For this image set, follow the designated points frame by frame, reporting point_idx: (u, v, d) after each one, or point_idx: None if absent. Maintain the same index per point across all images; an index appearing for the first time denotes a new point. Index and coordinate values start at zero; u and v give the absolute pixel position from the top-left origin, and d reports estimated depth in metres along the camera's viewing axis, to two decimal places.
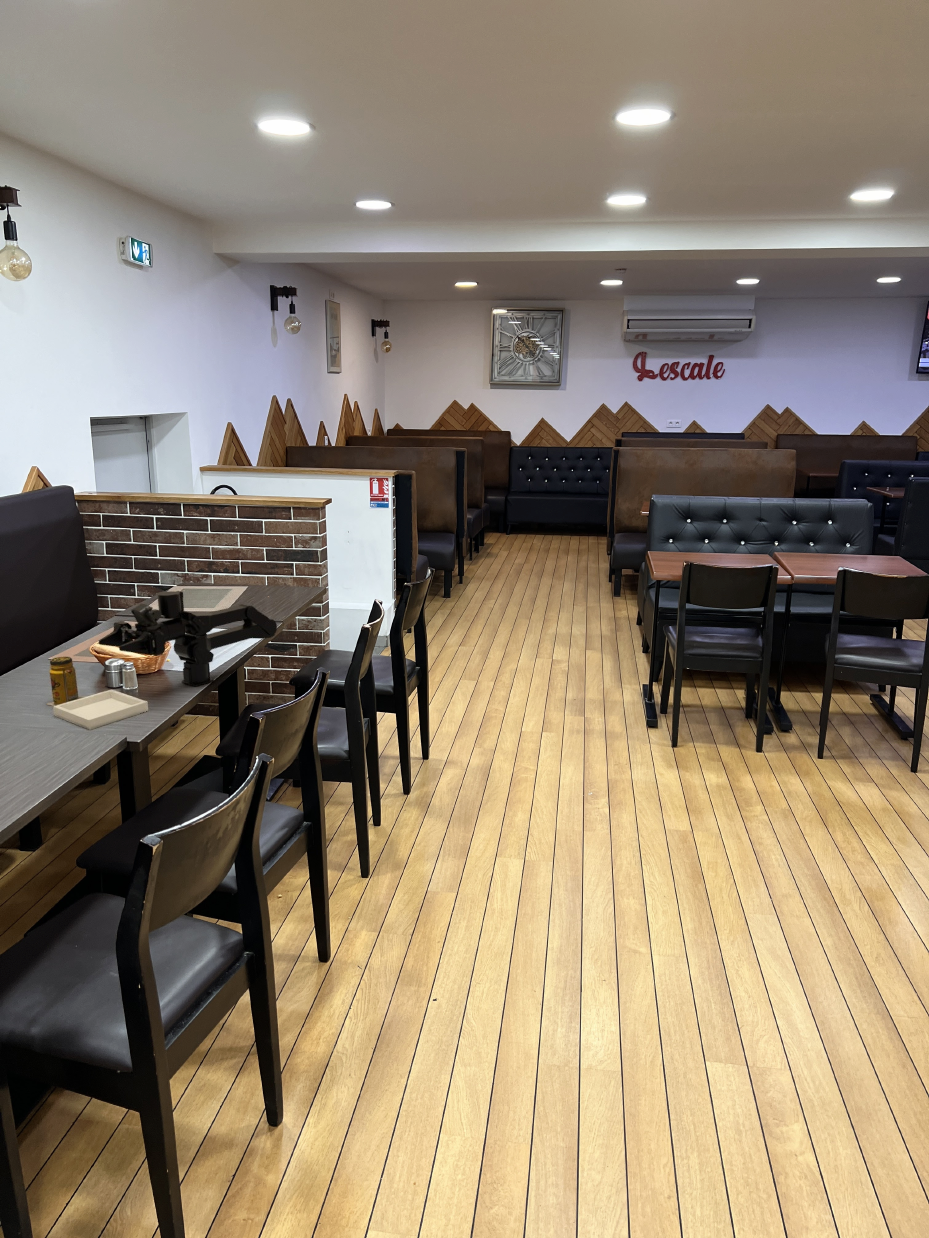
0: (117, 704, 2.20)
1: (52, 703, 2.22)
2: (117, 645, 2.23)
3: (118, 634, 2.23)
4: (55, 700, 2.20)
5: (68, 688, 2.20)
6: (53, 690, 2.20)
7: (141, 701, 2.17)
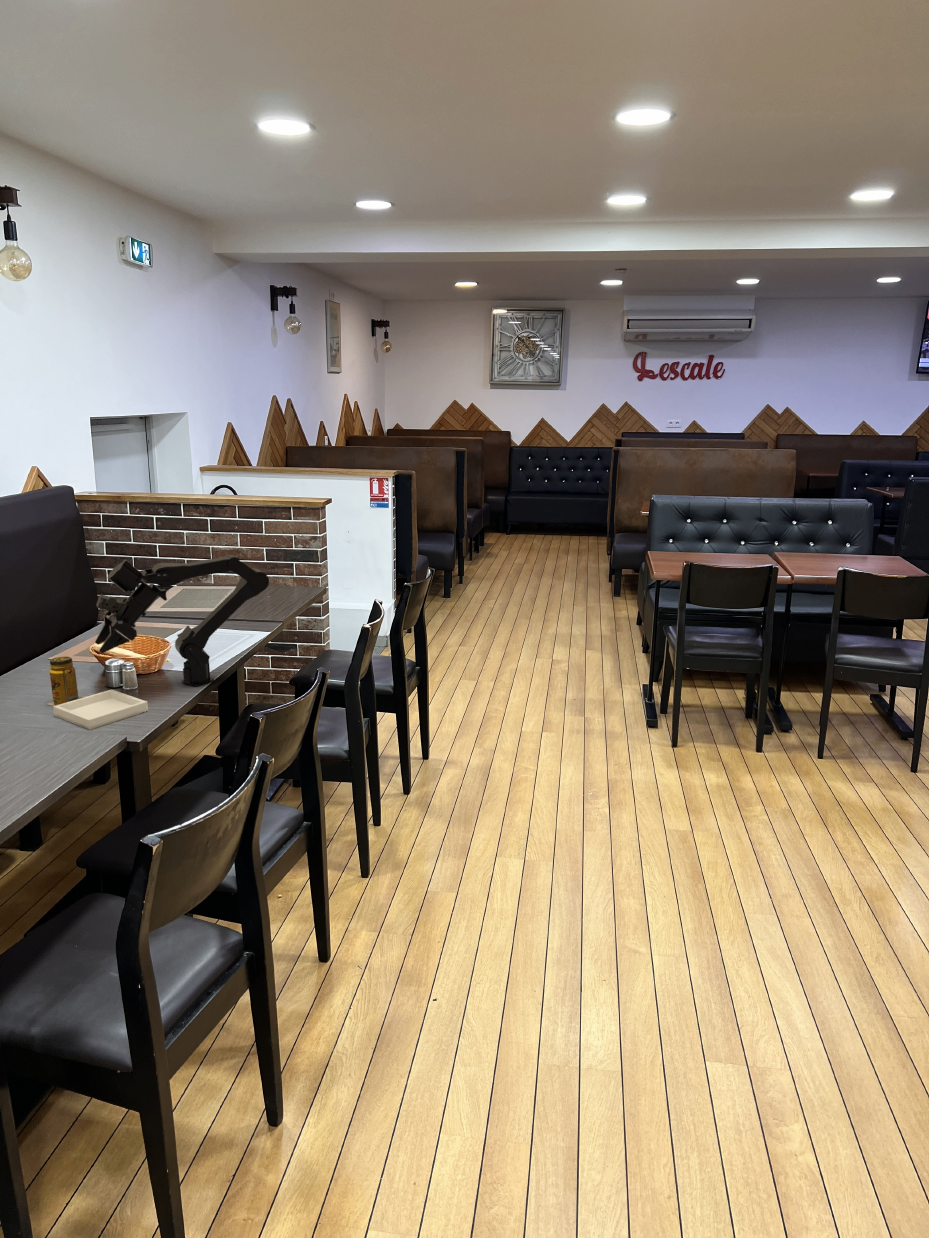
0: (117, 704, 2.20)
1: (52, 703, 2.22)
2: None
3: (108, 624, 2.29)
4: (55, 700, 2.20)
5: (68, 688, 2.20)
6: (53, 690, 2.20)
7: (141, 701, 2.17)
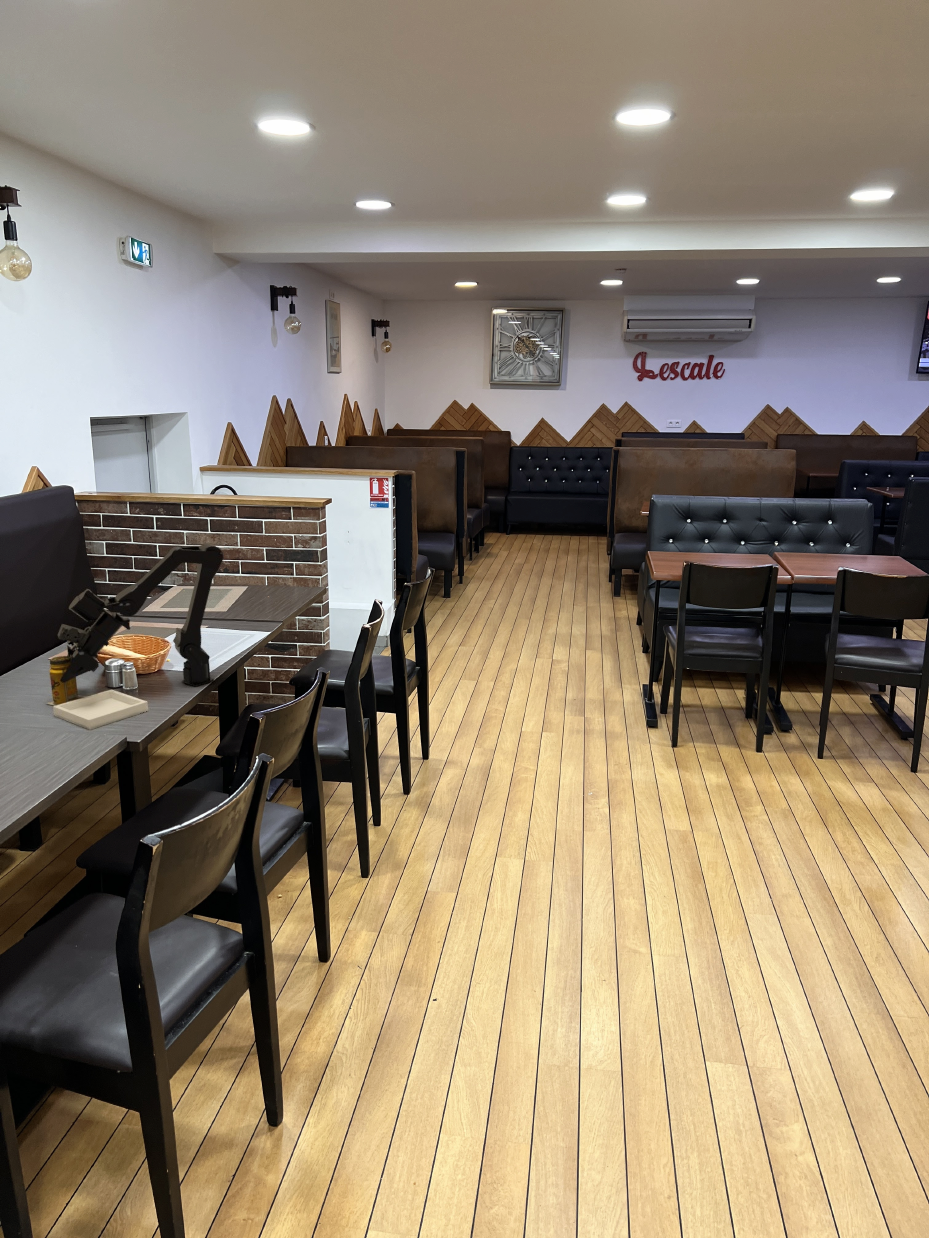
0: (117, 704, 2.20)
1: (52, 702, 2.22)
2: None
3: (72, 655, 2.25)
4: (55, 699, 2.20)
5: (68, 688, 2.20)
6: (53, 689, 2.20)
7: (141, 701, 2.17)
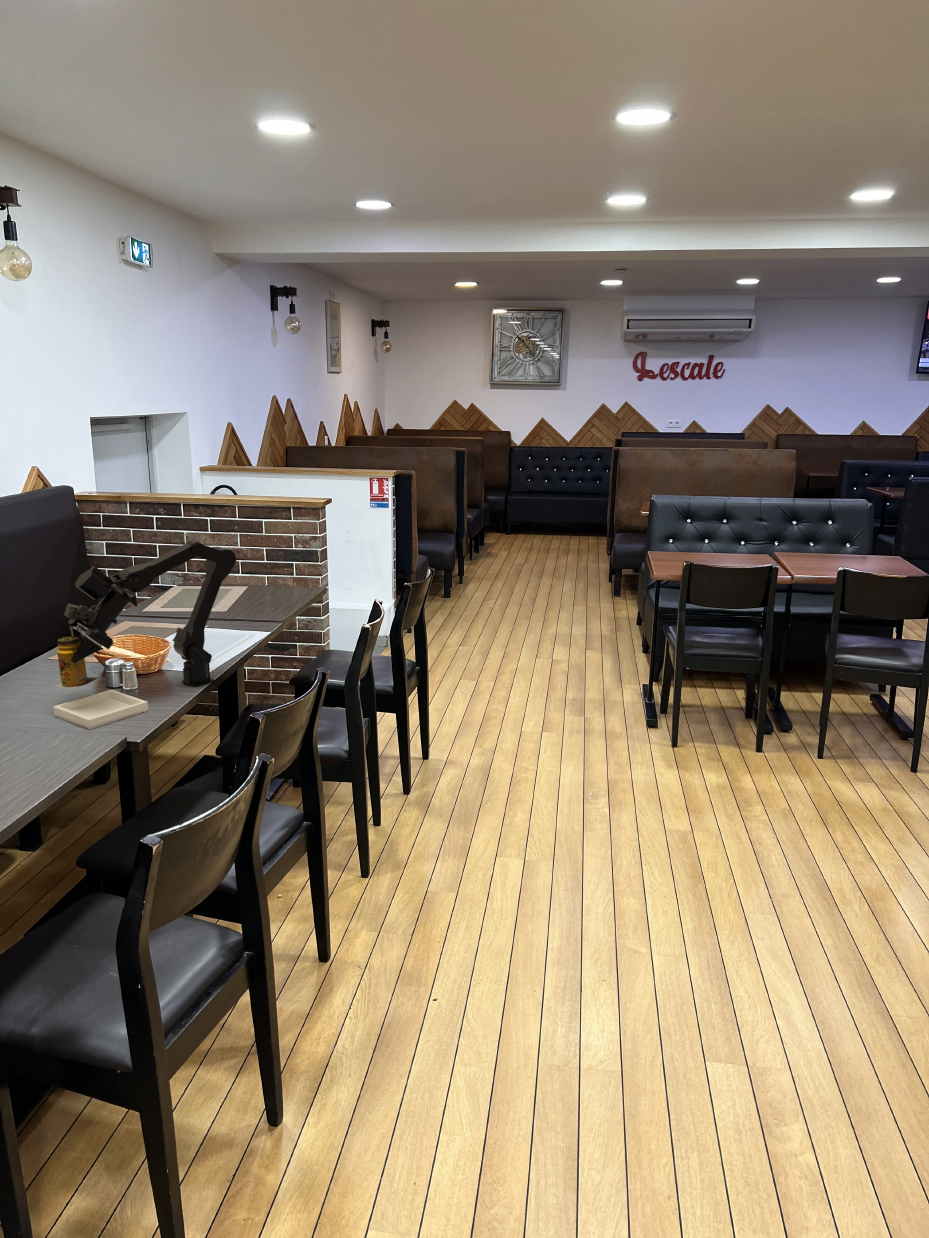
0: (117, 704, 2.20)
1: (60, 685, 2.16)
2: None
3: (77, 636, 2.19)
4: (65, 681, 2.14)
5: (78, 668, 2.15)
6: (62, 671, 2.14)
7: (141, 701, 2.17)
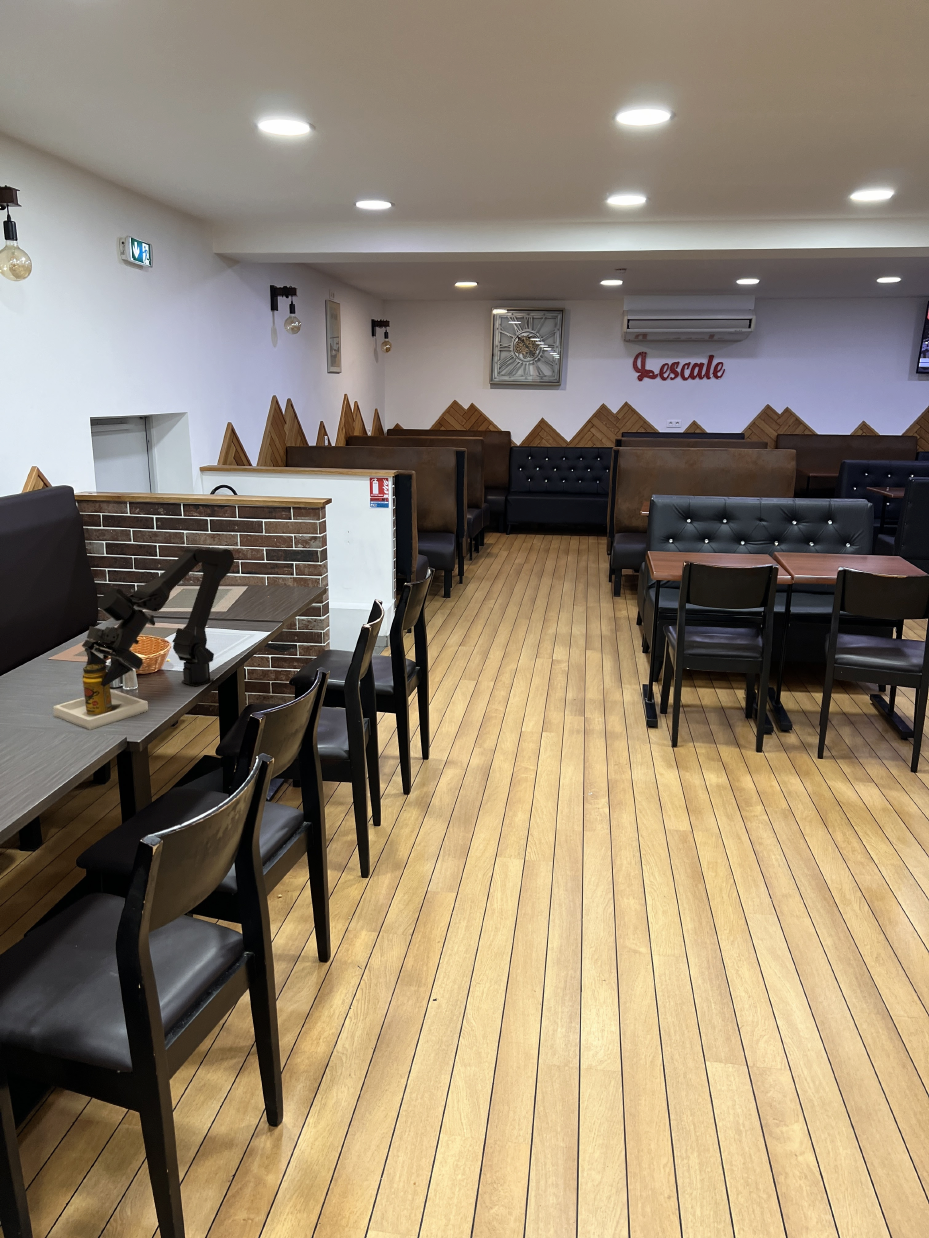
0: None
1: (85, 714, 2.13)
2: None
3: (94, 658, 2.16)
4: (92, 710, 2.11)
5: (106, 696, 2.12)
6: (90, 700, 2.11)
7: (141, 701, 2.17)
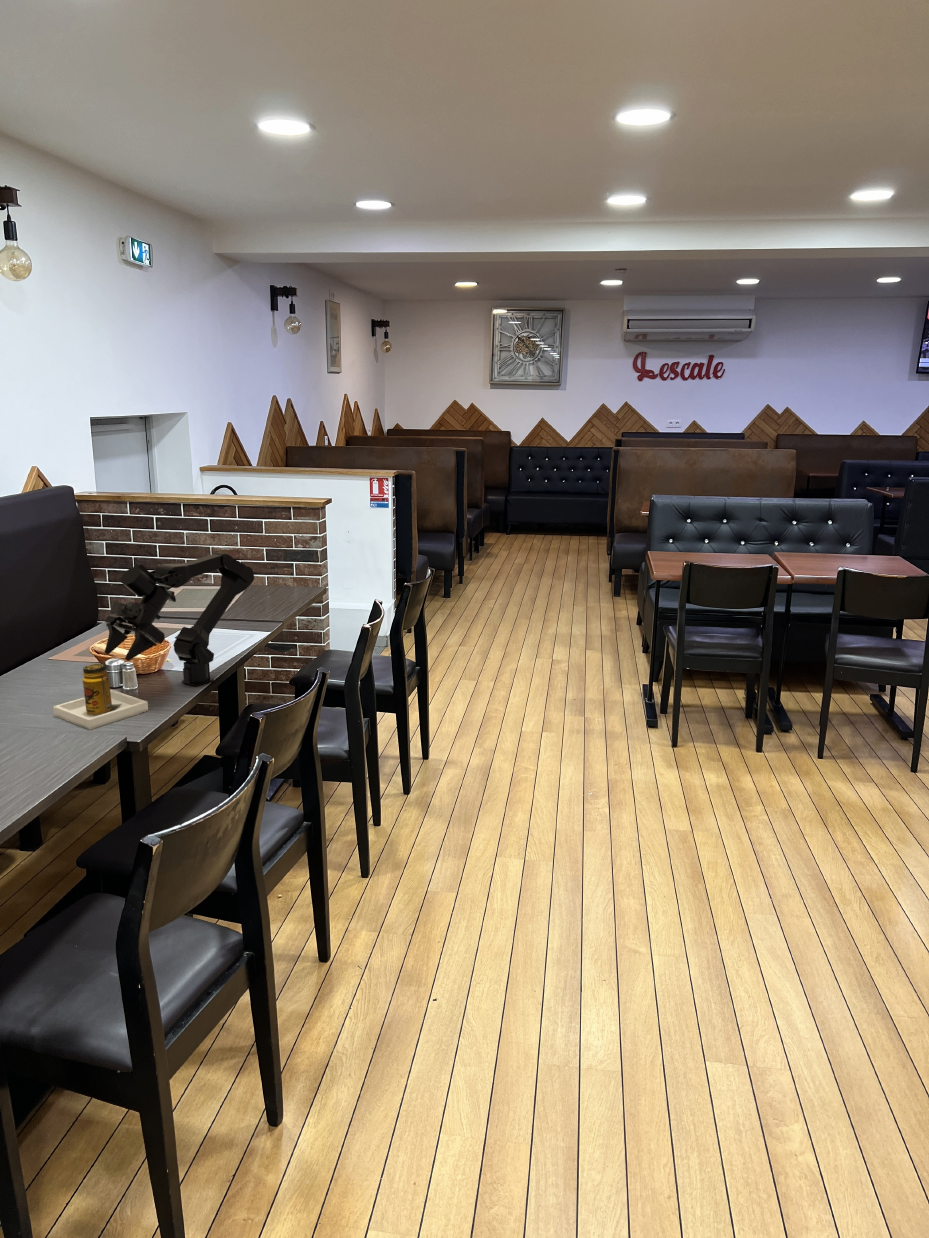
0: None
1: (85, 714, 2.13)
2: (122, 641, 2.23)
3: (115, 633, 2.21)
4: (92, 710, 2.11)
5: (106, 696, 2.12)
6: (90, 700, 2.11)
7: (141, 701, 2.17)
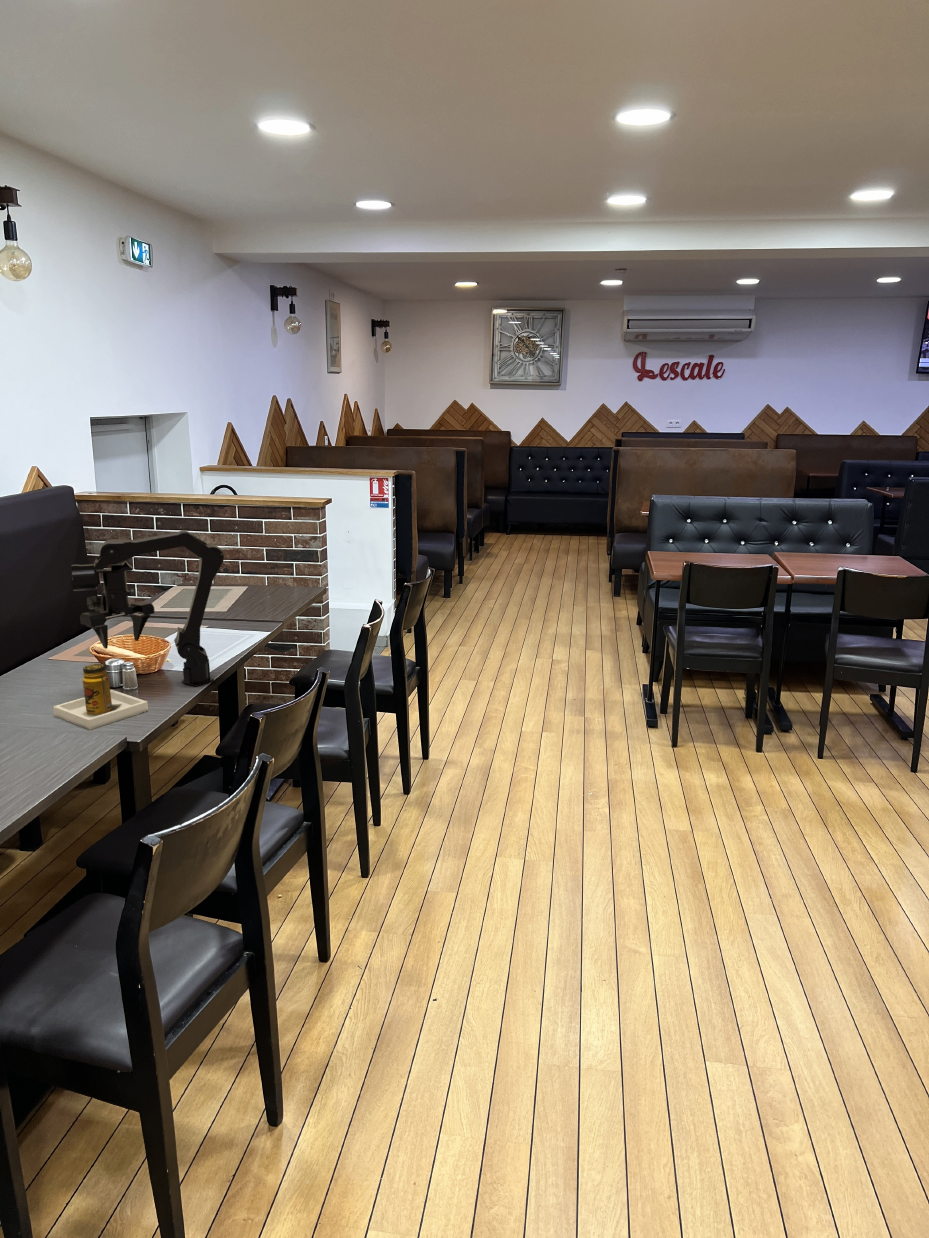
0: None
1: (85, 714, 2.13)
2: (140, 623, 2.31)
3: (134, 619, 2.32)
4: (92, 710, 2.11)
5: (106, 696, 2.12)
6: (90, 700, 2.11)
7: (141, 701, 2.17)
